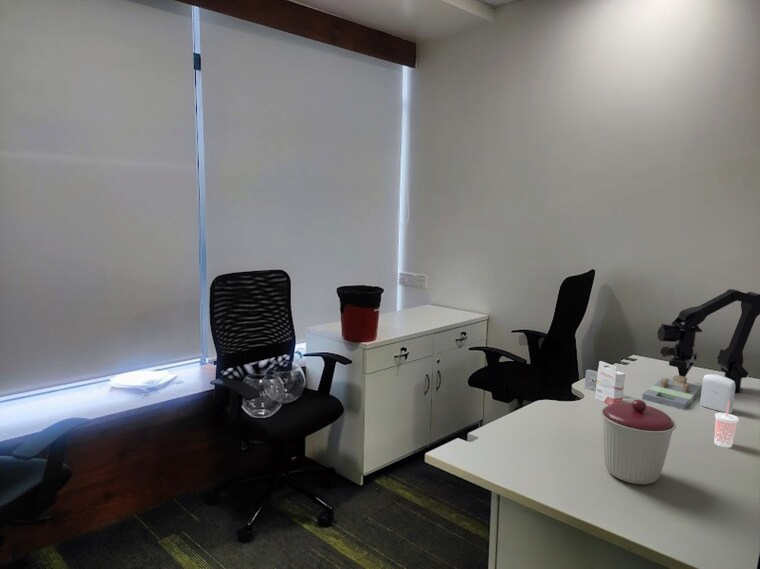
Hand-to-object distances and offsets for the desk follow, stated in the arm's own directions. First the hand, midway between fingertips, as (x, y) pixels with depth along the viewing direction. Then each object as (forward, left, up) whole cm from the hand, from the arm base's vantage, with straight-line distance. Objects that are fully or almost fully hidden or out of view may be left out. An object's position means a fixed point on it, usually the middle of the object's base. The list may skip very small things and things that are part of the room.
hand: (681, 379), depth 213 cm
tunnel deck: (+12, 0, -3) cm, 12 cm away
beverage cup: (+47, +23, -3) cm, 53 cm away
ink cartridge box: (+37, -15, -3) cm, 40 cm away
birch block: (+3, 0, -1) cm, 3 cm away
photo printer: (+16, +15, -3) cm, 22 cm away
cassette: (+29, -21, -3) cm, 36 cm away
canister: (+87, +9, -3) cm, 88 cm away
